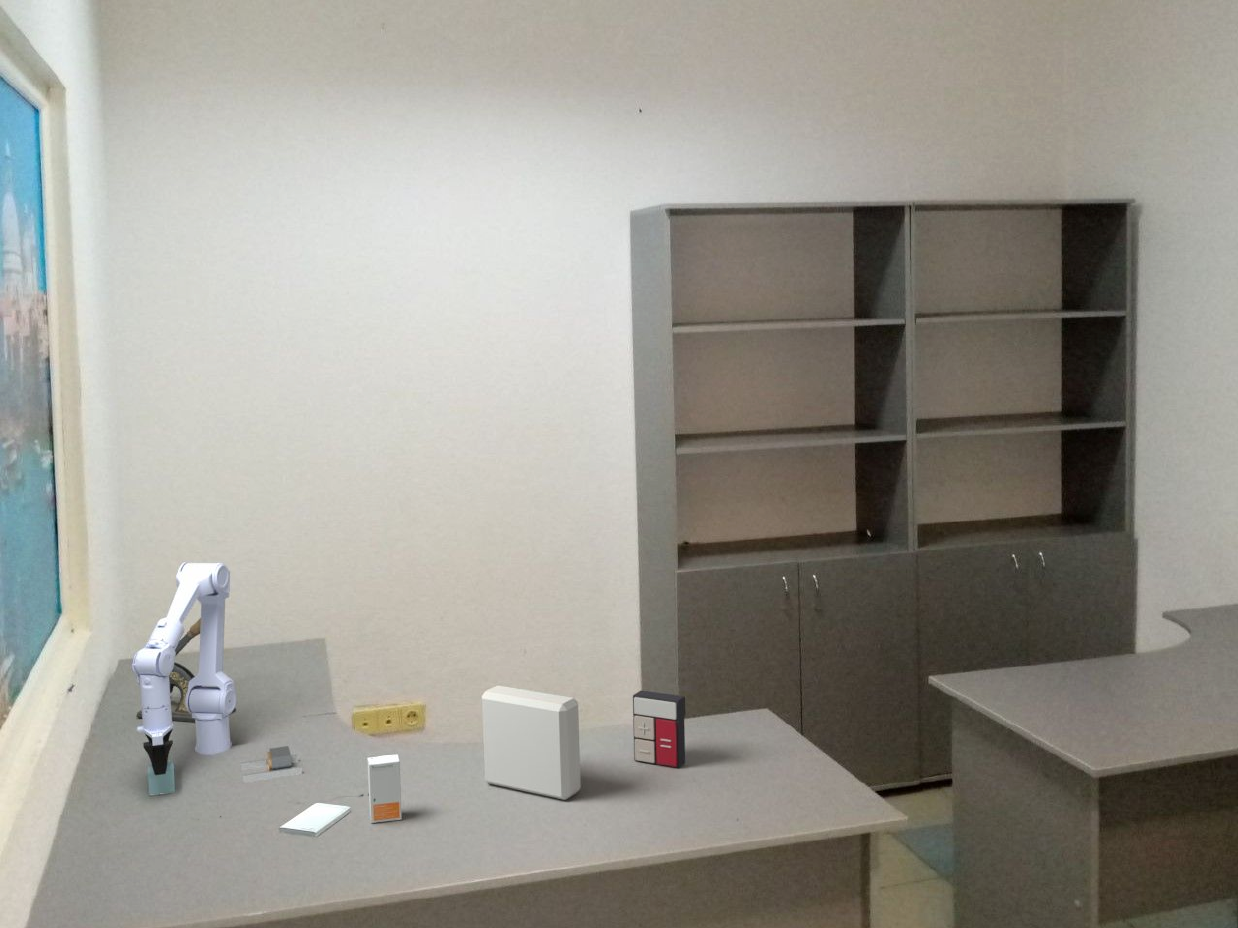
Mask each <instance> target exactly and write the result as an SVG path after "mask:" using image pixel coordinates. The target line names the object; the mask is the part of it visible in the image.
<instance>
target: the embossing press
mask: <svg viewBox="0 0 1238 928" xmlns="http://www.w3.org/2000/svg"><path fill="white" fill-rule="evenodd" d="M200 627H201V617H199V619H198V620H197V621H196V622H194V624H193V625H191V626H190V628H189V630H188V631H187V632H186V634H185V635H184V636H183V637H181V639H180V641H179V643H178V645H177V647H176V649H175V652H176V654H175V655H176V656H177V655H178V654H179V653H180V652H181V651H183V650H184V648H185V647H186V646H187V645H188V644H189V643H190V642H191V640H192V639H194V638H196V637H197V636H200ZM195 676H196V675H194V673H193V672H192V671H191V670H190V669H189V668H187V667H186V666H184V665H182V664H180V663H178V662H176V661H174V667H173V670H172V671H171V673H170V674H169V683H170V694H172V693H173V691H174V688H175V687H176V688H178V690H179V693H180V699H179V701H173V700H172V698H173V697H172V696H171V695H170V699H171V713H172V721H175V722H177V721H179V722H190V723H195V718H192V714H190V713H189V712H188V711H187V709H186V706H185V697H186V694H187V691H188V685H189V681H190V680H191V679H193V678H194V677H195ZM236 712H237V708H236V707H235V708H234V710H233V711H232V712H231V714H229V716H231V715H232V714H234V713H236ZM136 718H142V709H141V710H139V711H137V713H136Z"/></svg>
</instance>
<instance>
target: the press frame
mask: <svg viewBox="0 0 1238 928" xmlns="http://www.w3.org/2000/svg"><path fill="white" fill-rule="evenodd" d="M292 763H299V754H297V753H296V754H291V764H292ZM259 768H268V766H267V758H263V759H257V760H250V761H249V760H248V761H244V762H243V761H242V762H240V770H241V771H245V770H252V769H259ZM297 775H303V766H302V765H299V766H292V767H291V768H284V769H278V770H271V771H269V770H266V771H259V772H258V771H257V772H252V773H251V772H250V773H245V774H242V782H243V783H250V782H257V781H264V780H270V779H276V778H283V777H284V778H285V777H289V776H297Z"/></svg>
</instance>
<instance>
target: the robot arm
mask: <svg viewBox="0 0 1238 928" xmlns="http://www.w3.org/2000/svg"><path fill="white" fill-rule="evenodd" d="M175 580H176V581H175V583H176V587H177V589H176V591H175V594H174V597H173V599H172V602H171V604H170V607H169V609H168V612H167V614H166V615H165V616H166V617H163V618H161V619H159V620H158V621H157V623H156V625H155V627H154V629H153V630H152V633H151V635H150V636H149V638H148V640H147V643H146V645H145V646H144V647H143V648H141V649H140V650H138V651H137V652H136V653H135V655H134V657H133V661H132V665H131V667H132V672H133V674H134V675H135V677H136V683H137V685H139V688H140V689H139V691H140V703H141V704H140V706H141V707H140V708H141V710H142V719H141V720H142V725H141V726H137V727H136V732H137V733H143V734H144V735H145V737H146V738H147V739H148V741H145V742H143V745H142V746H143V749H144V750H145V752H146V753H147V755H148V757H149V759H150V765H152V767H153V771H154V774H155V775H162V774H166V770H167V762H169V761H168V759H169V754H170V752H171V751H170V750H171V748H172V746H173V744H174V741H173V740H172V739H171V740H170V737H171V734H172V732H173V729H174V722H173V720H172V713H171V701H172V698H171V699H170V696H171V693H170V683H169V674H170V673H171V671H172V670H173V667H174V662H175V657H177V655H175V654H176V652H175V649H176V647H177V645H178V643H179V641H180V640H181V639H182V638H183V637H182V636H183V635H184V633H185V628H184V625H183V623H184V620H186V618H187V616H188V615H189V614H190V611H191V610H192V608H193V606H194V604H195V603H196V601H198V603H200V618H201V627H200V634H199V654H198V655H199V658H198V659H199V660H198V673H197V674H196V675H194V676H195V677H194V678H193V679H191V680H190V681H189V685H188V691H187V694H186V697H185V706H186V709H187V711H188V712H189V713H190V714H192V718H195V722H194V723H195V725H194V726H195V736H196V738H195V739H196V745H195V746H194V750H195V751H194V752H197V753H198V754H200V755H217V754H222V753H224V752H226V751H228V750H230V749H231V747H233V742H232V741H231V731H230V717H229V716H230V715H229V714H231V712H232V711H233V710H234V708H236V704H237V695H236V694H237V693H236V691H235V681H234V680H233V679H232V678H231V677H229V676H228V675H227V674H226V673H225V672H224V669H223V668H224V650H225V649H224V648H225V647H224V646H225V645H224V644H225V617H226V599H228V598H229V597H230V586H231V585H230V583H231V582H230V581H231V571H230V570H229V569H228V567H227V565H226V564H225V563H223V562H215V563H214V562H189V561H184V562H183V563H182V564H180V566H179V568H178V570H177V574H176V575H175ZM231 715H232V714H231Z"/></svg>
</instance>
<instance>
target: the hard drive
mask: <svg viewBox="0 0 1238 928" xmlns="http://www.w3.org/2000/svg"><path fill="white" fill-rule="evenodd" d="M351 812H352V808H351V807H350V806H347V805H339V804H330V803H322V802H321V803H320V802H315V803H314V804H313V805H311V806H309V807H308V808H306V809H305V810H304V811H302V812H301V813H299V814H297V815H296V816H294V817H293V818H292V819H291V820H289V821H287V822H286V823H283V825H281V826H280V827H279V828H278V833H282V834H289V835H295V836H304V837H312V838H317V837H319V836H320V835H321V834H323V833H324V832H325V831H327V830H328V829H329V828H332V826H333V825H335V824H336V823H338V822H339V821H340V820H341V819H343V818H344V817H345V816H347V815H348V814H350V813H351Z"/></svg>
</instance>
